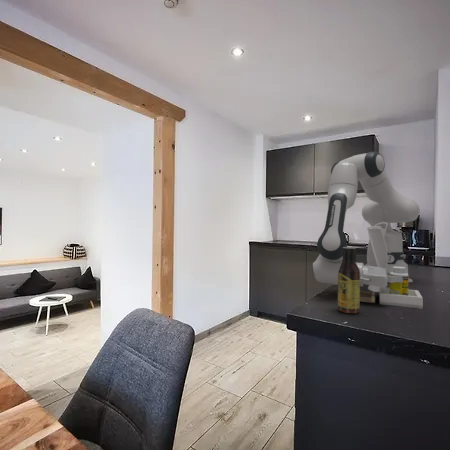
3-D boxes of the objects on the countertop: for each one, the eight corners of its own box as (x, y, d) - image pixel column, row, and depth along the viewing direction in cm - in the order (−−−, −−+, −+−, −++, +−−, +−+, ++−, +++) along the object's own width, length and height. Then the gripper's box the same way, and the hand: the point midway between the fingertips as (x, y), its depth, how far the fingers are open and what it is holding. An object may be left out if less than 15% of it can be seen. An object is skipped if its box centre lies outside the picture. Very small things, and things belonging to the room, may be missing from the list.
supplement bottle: (403, 299, 94) (403, 269, 94) (386, 295, 99) (386, 266, 99) (411, 297, 97) (411, 267, 97) (394, 293, 102) (394, 265, 102)
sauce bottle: (334, 308, 91) (334, 246, 91) (354, 308, 91) (354, 246, 91) (342, 314, 84) (342, 247, 84) (364, 314, 84) (363, 247, 84)
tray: (379, 296, 106) (379, 287, 106) (418, 300, 101) (417, 290, 101) (379, 304, 96) (379, 293, 96) (422, 308, 90) (422, 297, 90)
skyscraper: (383, 288, 119) (383, 222, 120) (392, 292, 112) (392, 222, 112) (364, 288, 120) (363, 222, 120) (371, 292, 113) (371, 222, 113)
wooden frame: (346, 293, 111) (346, 289, 111) (375, 296, 106) (374, 292, 106) (343, 299, 102) (343, 295, 102) (374, 302, 97) (374, 298, 97)
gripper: (356, 269, 95) (404, 273, 89) (359, 263, 113) (399, 265, 107) (356, 288, 95) (404, 293, 89) (359, 278, 113) (400, 282, 107)
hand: (402, 277), depth 98 cm, fingers closed on supplement bottle, 5 cm apart
